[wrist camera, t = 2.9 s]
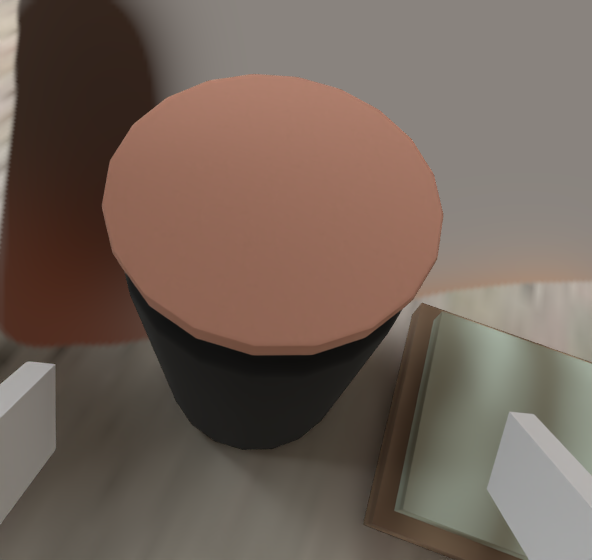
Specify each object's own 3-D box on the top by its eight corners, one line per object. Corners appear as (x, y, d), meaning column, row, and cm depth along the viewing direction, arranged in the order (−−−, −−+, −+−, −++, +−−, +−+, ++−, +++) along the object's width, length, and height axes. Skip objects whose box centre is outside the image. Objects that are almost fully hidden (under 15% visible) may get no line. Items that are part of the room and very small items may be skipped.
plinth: (363, 524, 27) (379, 523, 24) (412, 314, 34) (430, 292, 30) (603, 616, 26) (653, 627, 23) (604, 383, 33) (642, 367, 30)
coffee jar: (255, 265, 34) (273, 33, 18) (369, 365, 31) (505, 195, 16) (135, 367, 30) (22, 177, 14) (256, 494, 27) (289, 438, 11)
